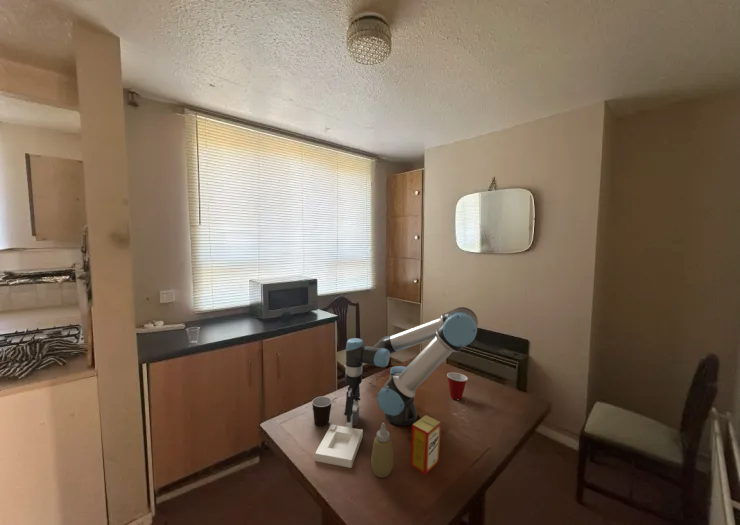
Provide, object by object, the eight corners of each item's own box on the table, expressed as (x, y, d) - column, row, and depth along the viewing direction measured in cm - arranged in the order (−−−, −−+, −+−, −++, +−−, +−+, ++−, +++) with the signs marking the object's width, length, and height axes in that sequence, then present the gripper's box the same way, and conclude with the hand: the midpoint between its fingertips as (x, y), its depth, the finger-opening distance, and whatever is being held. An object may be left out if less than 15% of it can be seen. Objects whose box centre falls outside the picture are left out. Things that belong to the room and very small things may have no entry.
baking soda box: (425, 475, 107) (427, 432, 106) (410, 465, 112) (412, 423, 110) (439, 461, 114) (441, 420, 113) (424, 452, 119) (426, 413, 117)
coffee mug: (327, 430, 130) (328, 408, 130) (308, 427, 132) (309, 405, 131) (335, 415, 142) (336, 394, 141) (318, 412, 143) (318, 392, 143)
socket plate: (362, 436, 127) (362, 427, 127) (351, 467, 109) (351, 458, 109) (330, 431, 130) (331, 422, 129) (314, 460, 112) (315, 451, 112)
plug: (358, 419, 139) (359, 405, 138) (356, 425, 134) (356, 410, 134) (348, 418, 140) (348, 403, 139) (345, 423, 135) (345, 409, 135)
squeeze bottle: (369, 463, 112) (371, 417, 110) (391, 463, 112) (393, 416, 111) (371, 481, 104) (373, 431, 102) (394, 480, 104) (396, 430, 103)
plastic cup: (470, 397, 162) (471, 376, 161) (460, 405, 154) (461, 382, 153) (452, 390, 169) (453, 369, 168) (441, 396, 162) (442, 375, 161)
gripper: (352, 362, 147) (350, 406, 149) (337, 384, 125) (336, 435, 127) (367, 364, 146) (365, 408, 147) (355, 386, 124) (353, 438, 125)
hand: (352, 420), depth 137 cm, fingers open, 10 cm apart
